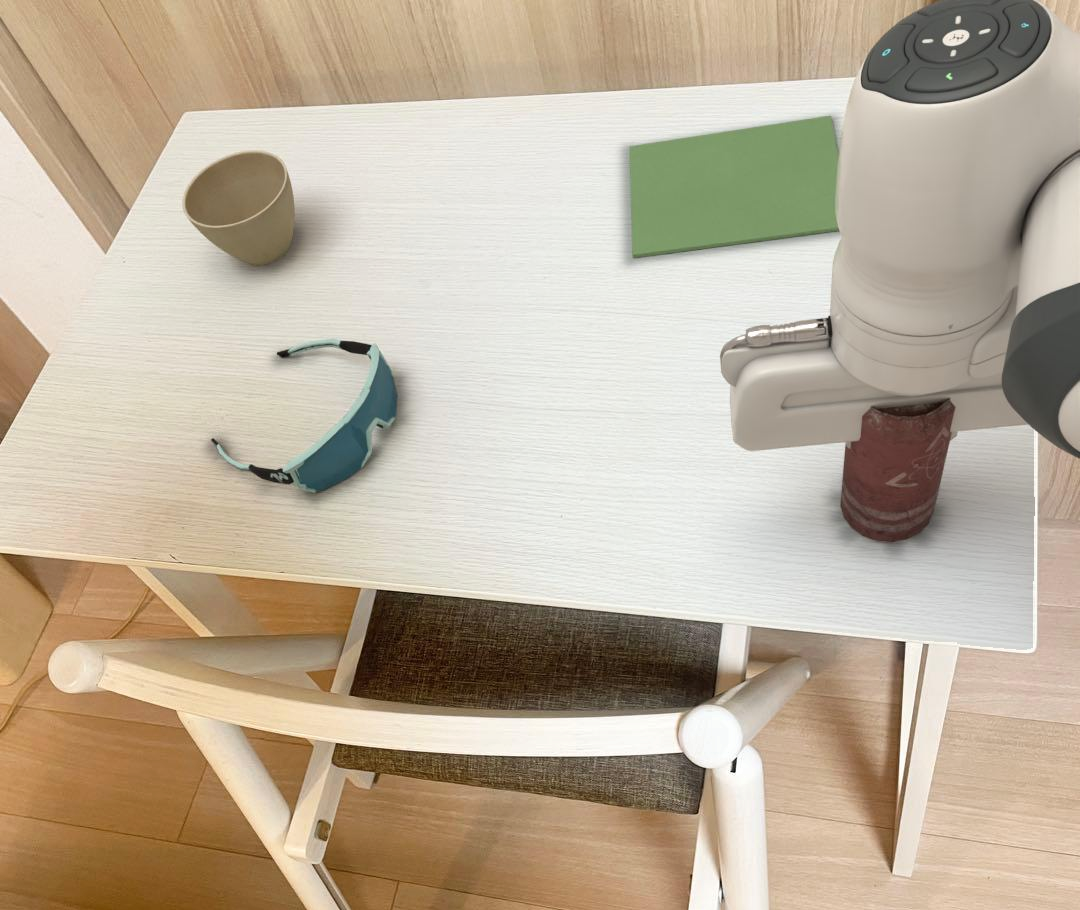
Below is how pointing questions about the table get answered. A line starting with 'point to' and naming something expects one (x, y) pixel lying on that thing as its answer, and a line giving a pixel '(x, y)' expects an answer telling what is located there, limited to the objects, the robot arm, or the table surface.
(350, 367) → the table surface
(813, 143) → the felt cloth
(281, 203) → the flower pot
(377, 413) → the sunglasses
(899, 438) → the can
